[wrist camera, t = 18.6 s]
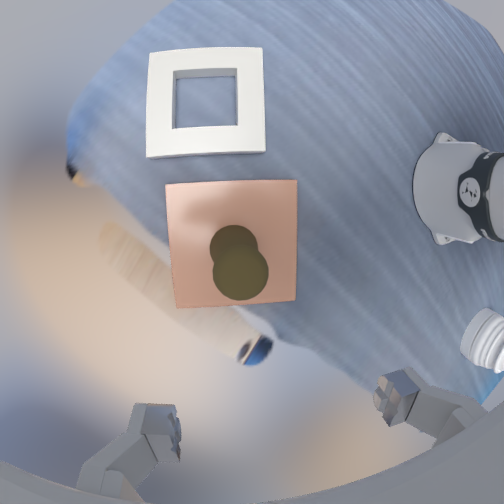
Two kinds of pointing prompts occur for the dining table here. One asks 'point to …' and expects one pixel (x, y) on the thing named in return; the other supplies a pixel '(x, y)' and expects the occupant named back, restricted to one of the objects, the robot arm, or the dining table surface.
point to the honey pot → (485, 340)
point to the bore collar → (212, 137)
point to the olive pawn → (238, 263)
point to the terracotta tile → (223, 214)
